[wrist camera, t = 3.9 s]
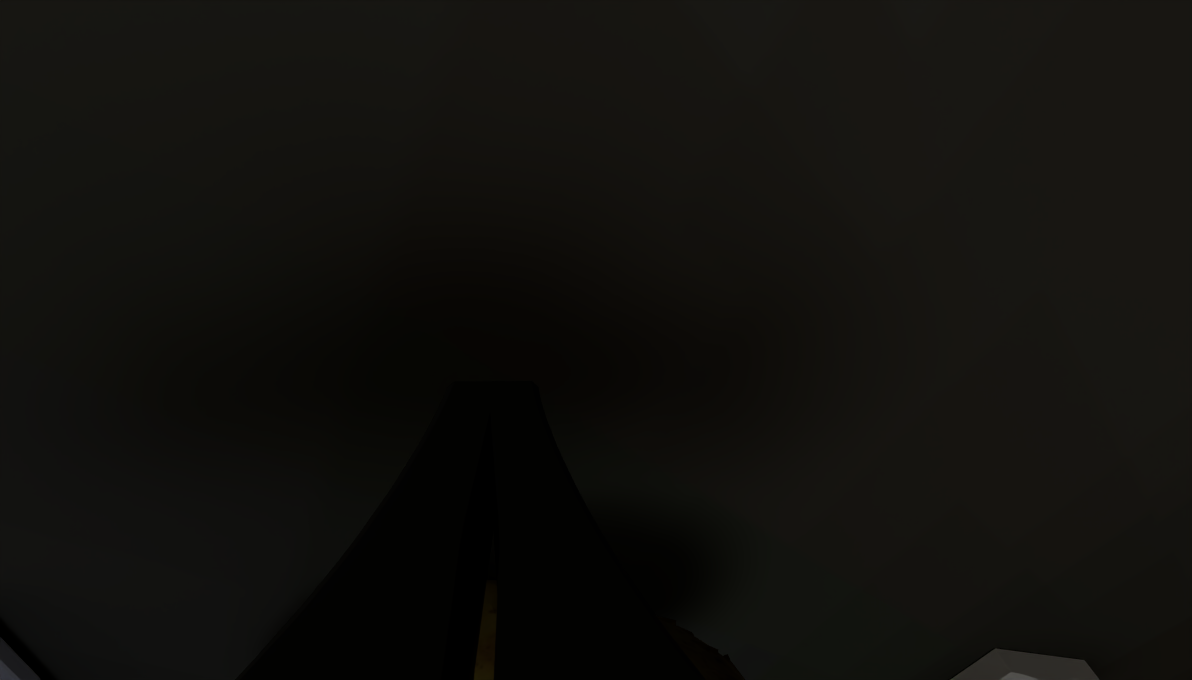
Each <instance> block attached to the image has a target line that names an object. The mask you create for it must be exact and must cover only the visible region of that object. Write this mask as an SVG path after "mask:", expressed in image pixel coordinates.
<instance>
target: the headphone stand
mask: <svg viewBox="0 0 1192 680" xmlns="http://www.w3.org/2000/svg"><path fill="white" fill-rule="evenodd" d="M951 680H1099V678H1098V677H1097V676H1096V675H1095V673H1094V672H1093V671H1092V669H1091V668H1090V667H1089V666H1088V664H1087V663H1086V662H1085V660H1079V659H1072V658H1064V657H1057V656H1049V655H1041V654H1034V653H1026V652H1018V651H1011V650H1003V649H996V648H995V649H994V650H992V651H991V652H989V653H988V654H987V655H985V656H984V657H982V658H981V659H979V660H978V661H976V662H975V663H974V664H972V665H971V666H969V667H968V668H966V669H965V670H964V671H962V672H961V673H959V674H958V675H956V676H955V677H953V678H952V679H951Z"/></svg>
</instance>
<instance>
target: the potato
mask: <svg viewBox="0 0 1192 680" xmlns="http://www.w3.org/2000/svg"><path fill="white" fill-rule="evenodd" d="M496 617H497V580H487V582H486V589H485V597H484V604H483V612H482V619H481V627H480V634H479V642H478V649H477V656H476V664H475V673H474V680H494V661H495V639H496ZM657 617H658V619H659V620H660V622H661V623H662V624H663V626H664V627H665V628H666V630H667V631H668V633H669V634H670V635H671V636H672V638H673V639H674V640H675V641H676V643H677V644H678V645H679V646H680V648H681V649H682V650H683V651H684V653H685V654H686V655H687V656H688V658H689V659H690V660H691V662H692V663H693V664H694V665H695V667H696V668H697V669H698V670H699V672H700V673H701V674H702V675H703V677H704V678H705V679H706V680H745V679H744V678H743V676H742V675H741V674H740V672H739V671H738V670H737V668H736V667H735V666H734V665H733V663H732V662H731V661H730V658H729V656H728V654H727V655H724V656H722V655H721V654H719V653H718V649H715V648H713V647H711V646H708V645H707V644H705V643H704V642H702V641H701V640H699V639H698V638H696V637H694V635H693V633H692V632H690V631H688V630H685V629H683V628H681V627H678V626H676V620H672V619H668V618H663V617H659V616H657Z"/></svg>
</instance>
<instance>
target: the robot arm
mask: <svg viewBox="0 0 1192 680" xmlns="http://www.w3.org/2000/svg"><path fill="white" fill-rule="evenodd" d="M493 529H494V546H495V562H496V579H497V617H496V639H495V661H494V680H706V679H705V678H704V677H703V675H702V674H701V673H700V672H699V670H698V669H697V668H696V667H695V665H694V664H693V663H692V662H691V660H690V659H689V658H688V656H687V655H686V654H685V653H684V651H683V650H682V649H681V648H680V646H679V645H678V644H677V643H676V641H675V640H674V639H673V638H672V636H671V635H670V634H669V633H668V631H667V630H666V628H665V627H664V626H663V624H662V623H661V622H660V620H659V619H658V617H657V616H656V615H655V613H654V612H653V610H652V609H651V608H650V606H649V605H648V603H647V602H646V601H645V599H644V598H643V596H642V595H641V594H640V592H639V591H638V589H637V588H636V586H635V585H634V583H633V582H632V580H631V579H630V577H629V576H628V574H627V573H626V571H625V570H624V568H623V567H622V565H621V564H620V562H619V560H618V559H617V557H616V556H615V554H614V552H613V551H612V549H611V548H610V546H609V544H608V543H607V541H606V539H605V538H604V536H603V534H602V533H601V531H600V529H599V527H598V526H597V524H596V522H595V520H594V519H593V517H592V515H591V513H590V512H589V510H588V508H587V506H586V504H585V502H584V501H583V499H582V497H581V495H580V493H579V491H578V489H577V487H576V485H575V483H574V481H573V479H572V477H571V475H570V473H569V471H568V469H567V466H566V464H565V462H564V460H563V458H562V456H561V454H560V451H559V449H558V447H557V445H556V442H555V440H554V437H553V435H552V432H551V429H550V427H549V424H548V422H547V419H546V416H545V413H544V410H543V406H542V403H541V399H540V395H539V389H538V386H536V385H535V384H534V383H533V382H532V381H496V382H453V383H452V384H451V385H450V386H449V387H447V390H446V392H445V395H444V397H443V399H442V401H441V404H440V406H439V408H438V410H437V412H436V414H435V416H434V418H433V420H432V421H431V423H430V425H429V427H428V429H427V431H426V432H425V434H424V436H423V438H422V440H421V441H420V443H419V445H418V446H417V448H416V450H415V451H414V453H413V455H412V456H411V458H410V459H409V461H408V463H407V464H406V466H405V467H404V469H403V471H402V472H401V474H400V475H399V477H398V479H397V480H396V482H395V483H394V485H393V486H392V488H391V489H390V491H389V492H388V494H387V495H386V497H385V498H384V500H383V501H382V502H381V504H380V505H379V507H378V508H377V509H376V511H375V512H374V514H373V515H372V517H371V518H370V519H369V521H368V522H367V524H366V525H365V526H364V528H363V529H362V531H361V532H360V533H359V535H358V536H357V538H356V539H355V540H354V542H353V543H352V544H351V546H350V547H349V548H348V549H347V551H346V552H345V553H344V555H343V556H342V557H341V559H340V560H339V561H338V562H337V564H336V565H335V566H334V567H333V569H332V570H331V571H330V572H329V574H328V575H327V576H326V577H325V579H324V580H323V581H322V582H321V583H320V585H319V586H318V587H317V588H316V590H315V591H314V592H313V593H312V594H311V596H310V597H309V598H308V599H307V600H306V602H305V603H304V604H303V605H302V606H301V608H300V609H299V610H298V611H297V612H296V613H295V614H294V616H293V617H292V618H291V619H290V620H289V621H288V622H287V623H286V624H285V626H284V627H283V628H282V629H281V630H280V631H279V632H278V633H277V635H276V636H275V637H274V638H273V639H272V640H271V641H270V642H269V644H268V645H267V646H266V647H265V648H264V649H263V650H262V651H261V653H260V654H259V655H258V656H257V657H256V658H255V659H254V660H253V661H252V662H251V664H250V665H249V666H248V667H247V668H246V669H245V670H244V671H243V672H242V673H241V674H240V675H239V676H238V677H237V679H236V680H474V673H475V664H476V656H477V649H478V642H479V634H480V627H481V619H482V612H483V604H484V597H485V589H486V582H487V574H488V566H489V559H490V551H491V544H492V536H493ZM0 680H42V679H41V678H40V677H39V676H38V675H37V674H36V673H35V672H34V671H33V670H32V669H31V668H30V667H29V666H28V665H27V664H26V663H25V662H24V661H23V660H22V659H21V658H20V657H19V655H18V654H17V653H16V652H15V651H14V650H13V649H12V648H11V647H10V646H9V645H8V644H7V643H6V642H5V641H4V640H3V639H2V638H1V637H0Z"/></svg>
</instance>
